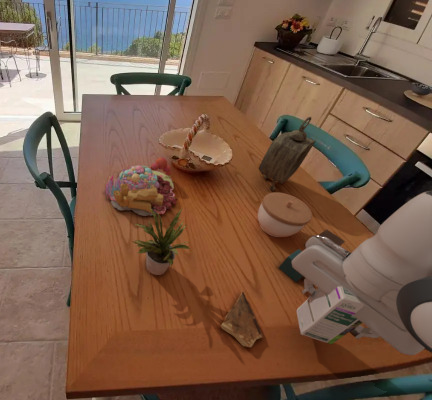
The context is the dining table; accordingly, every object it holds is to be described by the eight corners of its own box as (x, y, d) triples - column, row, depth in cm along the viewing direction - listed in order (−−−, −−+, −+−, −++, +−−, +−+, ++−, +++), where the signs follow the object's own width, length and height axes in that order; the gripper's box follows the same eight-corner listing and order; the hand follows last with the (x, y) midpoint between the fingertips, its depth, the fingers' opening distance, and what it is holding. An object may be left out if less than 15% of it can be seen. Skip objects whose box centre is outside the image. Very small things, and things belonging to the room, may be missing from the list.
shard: (240, 294, 64) (243, 290, 63) (272, 317, 61) (276, 314, 59) (218, 326, 58) (221, 322, 57) (252, 354, 55) (255, 350, 53)
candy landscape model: (181, 219, 82) (189, 197, 76) (104, 216, 81) (105, 193, 75) (169, 171, 100) (174, 149, 94) (106, 168, 99) (107, 146, 93)
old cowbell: (274, 195, 93) (314, 129, 76) (249, 182, 98) (283, 117, 81) (291, 179, 100) (331, 116, 84) (267, 168, 105) (301, 106, 88)
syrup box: (300, 335, 55) (344, 299, 45) (295, 308, 59) (334, 271, 49) (331, 345, 53) (383, 311, 44) (323, 317, 58) (370, 281, 48)
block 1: (306, 273, 70) (317, 262, 66) (296, 282, 68) (306, 271, 64) (289, 259, 73) (298, 248, 69) (278, 267, 71) (287, 256, 67)
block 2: (333, 252, 76) (345, 241, 72) (324, 259, 74) (336, 248, 70) (316, 240, 79) (326, 229, 75) (307, 246, 77) (317, 235, 73)
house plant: (142, 233, 77) (151, 190, 66) (189, 253, 72) (207, 211, 61) (120, 270, 67) (126, 227, 56) (172, 296, 63) (189, 255, 52)
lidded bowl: (267, 247, 76) (286, 220, 68) (242, 215, 85) (257, 188, 77) (304, 241, 78) (327, 215, 70) (277, 211, 87) (295, 185, 80)
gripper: (306, 236, 48) (272, 279, 57) (456, 340, 35) (381, 373, 45) (324, 224, 51) (289, 266, 60) (470, 317, 38) (397, 352, 47)
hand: (329, 313), depth 52 cm, fingers closed on syrup box, 8 cm apart
